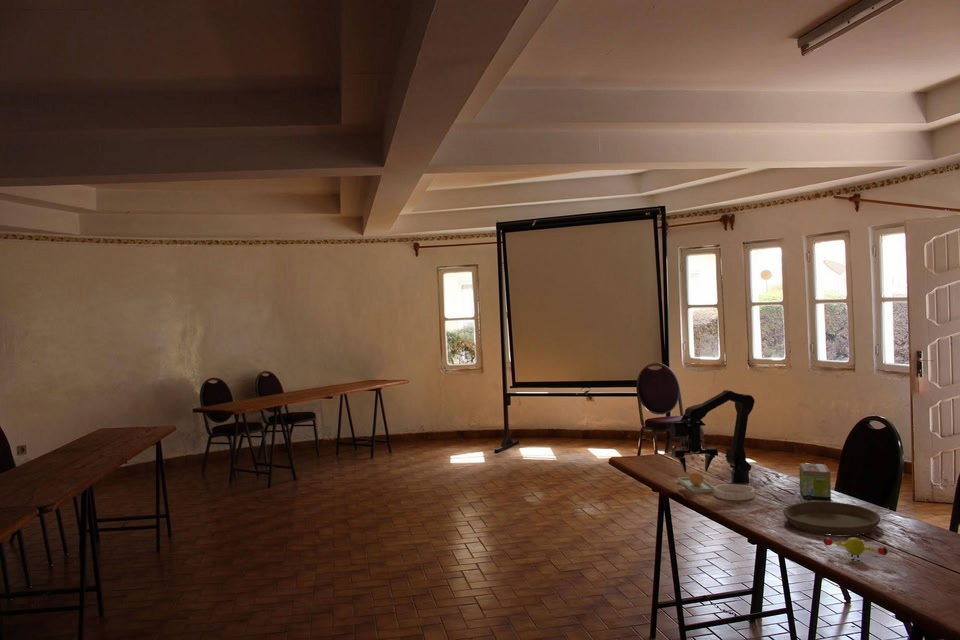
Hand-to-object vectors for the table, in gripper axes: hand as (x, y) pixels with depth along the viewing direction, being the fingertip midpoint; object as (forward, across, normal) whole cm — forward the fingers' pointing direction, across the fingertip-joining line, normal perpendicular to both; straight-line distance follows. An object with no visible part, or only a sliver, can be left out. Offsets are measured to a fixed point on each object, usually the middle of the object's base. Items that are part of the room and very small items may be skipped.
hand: (695, 471), depth 317 cm
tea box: (+7, -36, +34) cm, 50 cm away
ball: (+6, 0, 0) cm, 6 cm away
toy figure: (+7, -19, +95) cm, 97 cm away
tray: (+7, 0, 0) cm, 7 cm away
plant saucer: (+7, -29, +60) cm, 67 cm away
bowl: (+7, -10, +18) cm, 22 cm away
